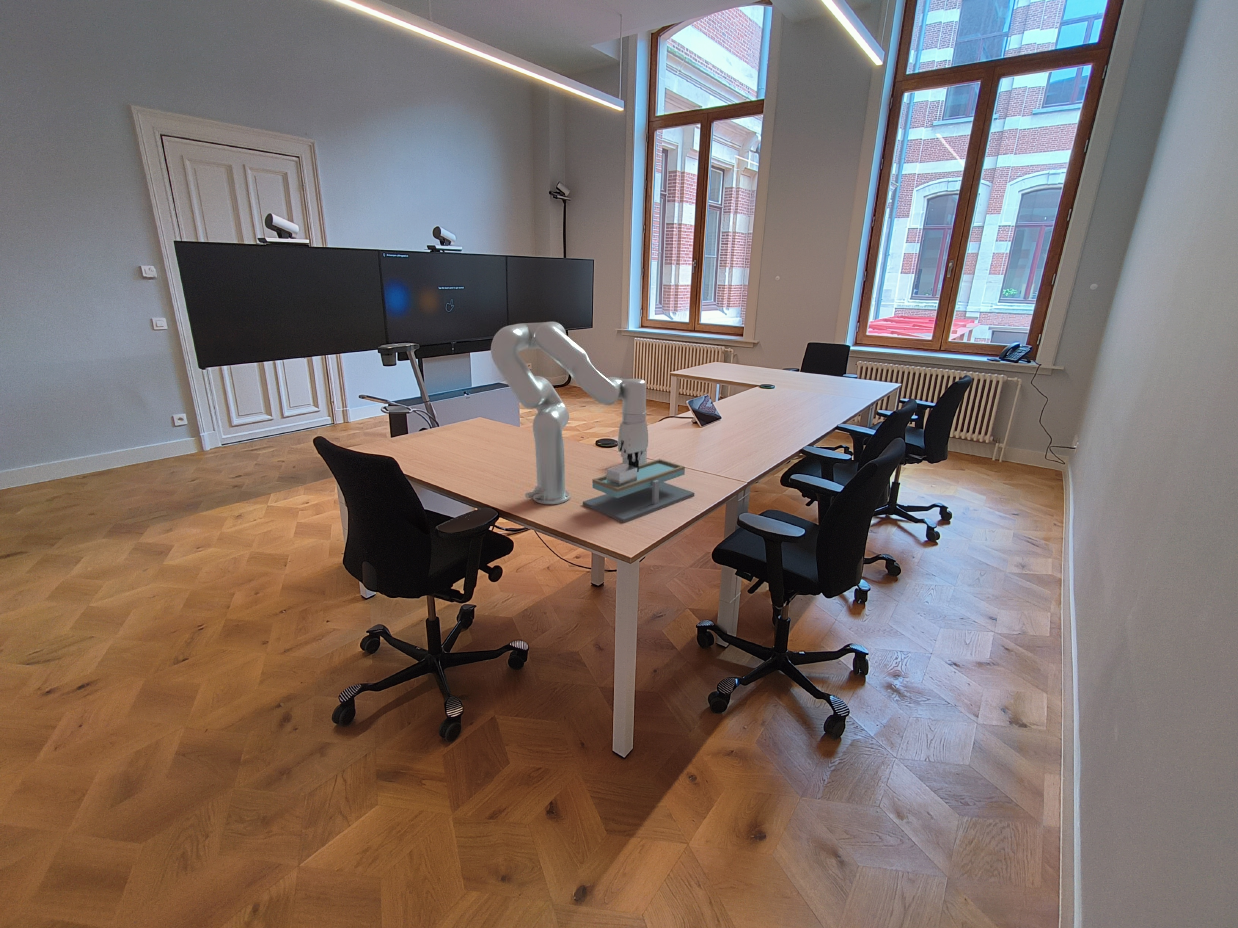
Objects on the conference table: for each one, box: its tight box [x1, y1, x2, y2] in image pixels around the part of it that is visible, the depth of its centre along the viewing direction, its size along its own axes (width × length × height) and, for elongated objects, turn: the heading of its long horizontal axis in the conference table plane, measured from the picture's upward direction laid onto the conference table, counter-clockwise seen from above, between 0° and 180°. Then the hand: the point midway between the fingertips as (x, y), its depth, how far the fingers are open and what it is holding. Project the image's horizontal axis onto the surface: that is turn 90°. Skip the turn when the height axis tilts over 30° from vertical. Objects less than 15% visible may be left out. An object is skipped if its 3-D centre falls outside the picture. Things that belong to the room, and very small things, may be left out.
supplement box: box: [622, 447, 648, 465], centre depth 228 cm, size 7×7×13 cm
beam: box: [592, 458, 686, 498], centre depth 189 cm, size 32×12×3 cm, turn 133°
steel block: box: [606, 463, 637, 487], centre depth 181 cm, size 8×6×5 cm
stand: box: [582, 480, 695, 524], centre depth 190 cm, size 34×20×9 cm, turn 133°
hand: (633, 471), depth 186 cm, fingers closed
